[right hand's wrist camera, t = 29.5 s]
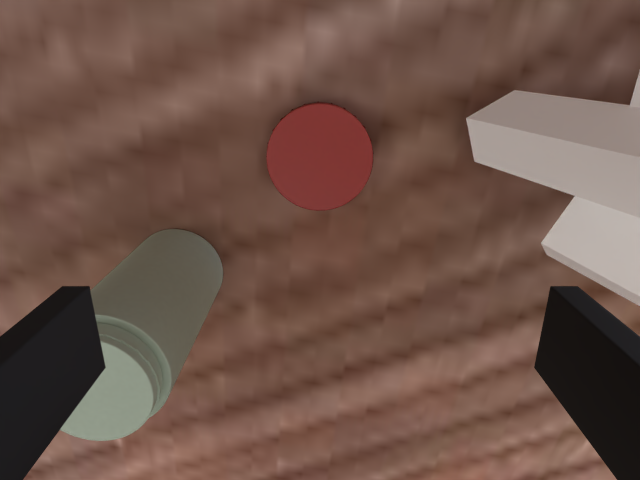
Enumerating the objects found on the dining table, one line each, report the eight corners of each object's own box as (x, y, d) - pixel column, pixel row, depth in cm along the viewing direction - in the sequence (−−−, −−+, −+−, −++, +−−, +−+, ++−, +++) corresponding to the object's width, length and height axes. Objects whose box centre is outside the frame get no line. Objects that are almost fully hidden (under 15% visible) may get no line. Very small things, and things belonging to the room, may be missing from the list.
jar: (200, 216, 42) (119, 311, 25) (237, 294, 45) (186, 426, 28) (118, 245, 43) (-14, 355, 26) (159, 319, 46) (65, 462, 29)
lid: (298, 221, 42) (297, 228, 40) (249, 132, 39) (245, 135, 37) (387, 178, 40) (390, 183, 39) (343, 82, 38) (344, 82, 36)
